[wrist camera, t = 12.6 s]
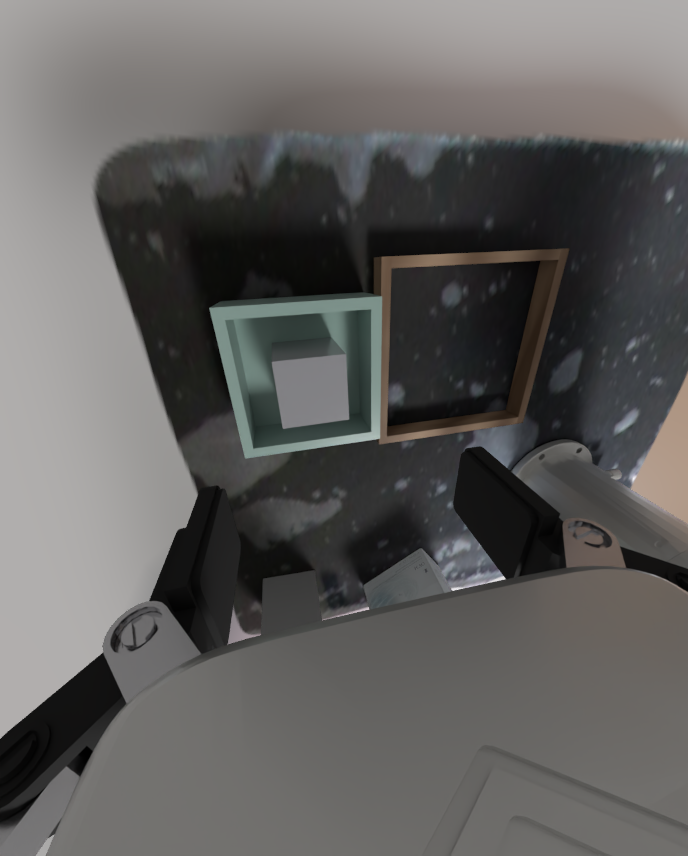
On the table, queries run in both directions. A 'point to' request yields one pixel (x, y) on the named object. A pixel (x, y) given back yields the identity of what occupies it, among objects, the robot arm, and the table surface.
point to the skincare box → (406, 581)
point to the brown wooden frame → (529, 349)
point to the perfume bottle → (289, 601)
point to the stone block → (310, 381)
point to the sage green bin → (289, 321)
